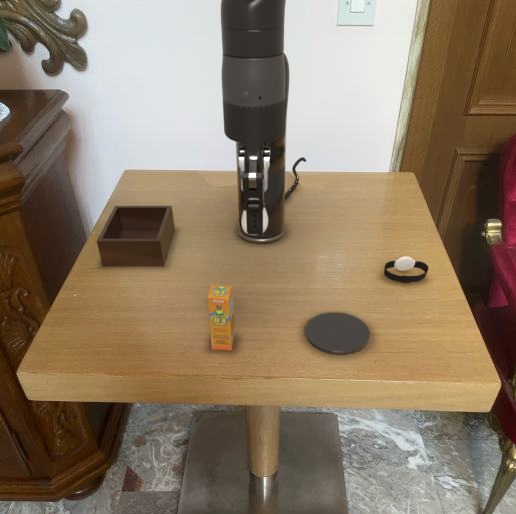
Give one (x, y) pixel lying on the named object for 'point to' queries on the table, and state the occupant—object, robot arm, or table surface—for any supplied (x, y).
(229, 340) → the supplement box
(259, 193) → the robot arm
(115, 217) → the crate
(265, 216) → the egg
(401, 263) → the watch
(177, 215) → the table surface
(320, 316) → the coaster
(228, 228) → the table surface
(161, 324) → the table surface
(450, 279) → the table surface
